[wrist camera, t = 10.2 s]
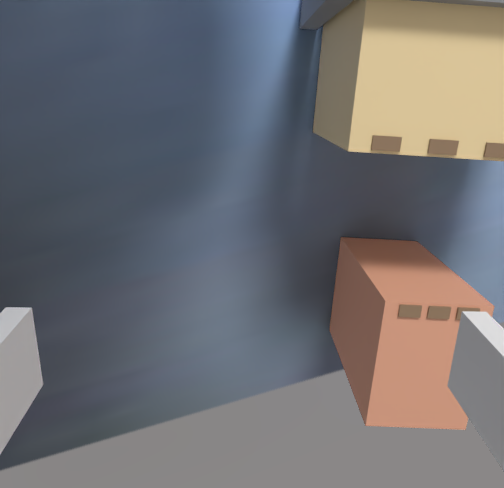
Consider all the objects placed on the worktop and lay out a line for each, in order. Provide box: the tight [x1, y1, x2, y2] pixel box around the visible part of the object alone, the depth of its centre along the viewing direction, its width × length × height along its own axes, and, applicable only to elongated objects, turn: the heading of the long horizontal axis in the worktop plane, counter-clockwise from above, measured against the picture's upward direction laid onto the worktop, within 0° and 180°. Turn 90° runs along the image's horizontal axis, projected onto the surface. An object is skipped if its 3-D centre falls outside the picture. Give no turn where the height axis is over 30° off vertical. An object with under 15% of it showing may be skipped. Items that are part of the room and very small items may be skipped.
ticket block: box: [299, 0, 504, 161], centre depth 27 cm, size 10×15×13 cm, turn 86°
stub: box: [329, 237, 494, 430], centre depth 33 cm, size 8×6×12 cm
